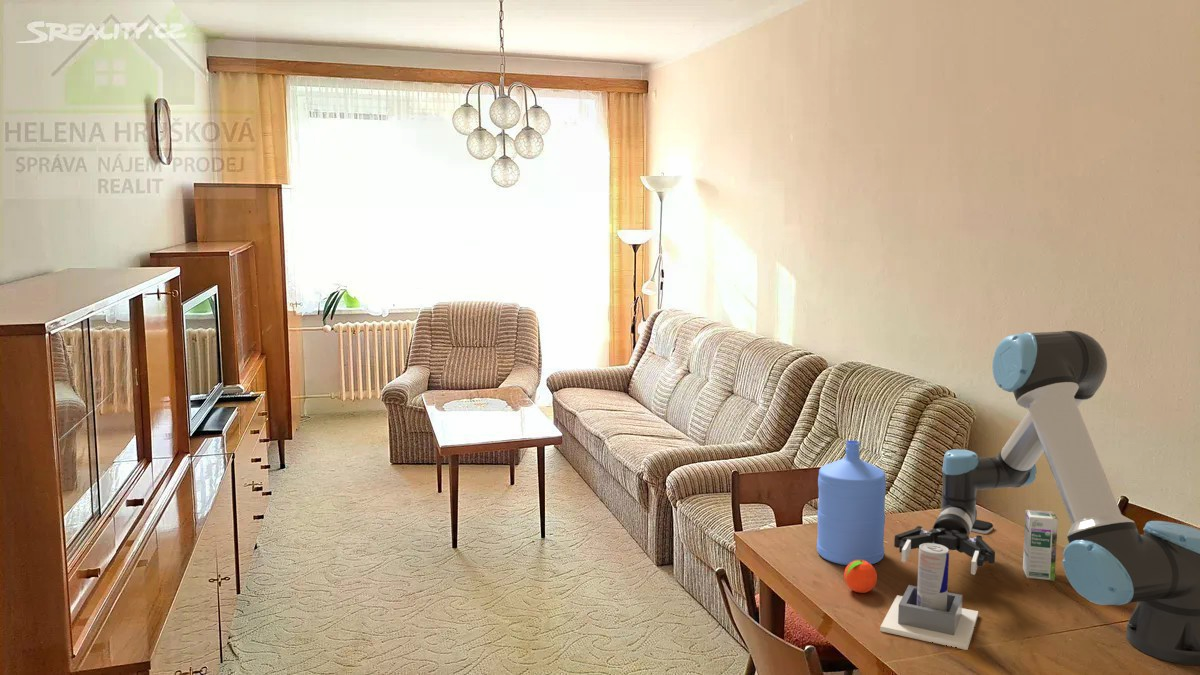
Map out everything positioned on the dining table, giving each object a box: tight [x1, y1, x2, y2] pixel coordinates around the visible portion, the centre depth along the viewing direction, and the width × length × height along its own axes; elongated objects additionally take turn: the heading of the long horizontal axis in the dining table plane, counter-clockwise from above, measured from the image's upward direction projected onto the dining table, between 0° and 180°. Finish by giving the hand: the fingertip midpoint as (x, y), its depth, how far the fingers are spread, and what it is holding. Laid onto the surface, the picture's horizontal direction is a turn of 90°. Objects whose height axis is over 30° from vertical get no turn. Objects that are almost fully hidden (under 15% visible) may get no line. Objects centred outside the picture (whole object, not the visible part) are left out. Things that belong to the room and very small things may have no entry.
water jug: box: [816, 440, 887, 566], centre depth 207 cm, size 16×16×28 cm
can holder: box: [879, 584, 979, 651], centre depth 173 cm, size 16×16×5 cm
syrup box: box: [1022, 509, 1059, 582], centre depth 194 cm, size 6×6×14 cm
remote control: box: [971, 518, 994, 535], centre depth 227 cm, size 6×13×2 cm, turn 46°
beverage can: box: [917, 542, 950, 612], centre depth 172 cm, size 6×6×15 cm
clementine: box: [843, 560, 878, 594], centre depth 187 cm, size 8×7×7 cm
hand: (937, 561), depth 178 cm, fingers open, 13 cm apart
